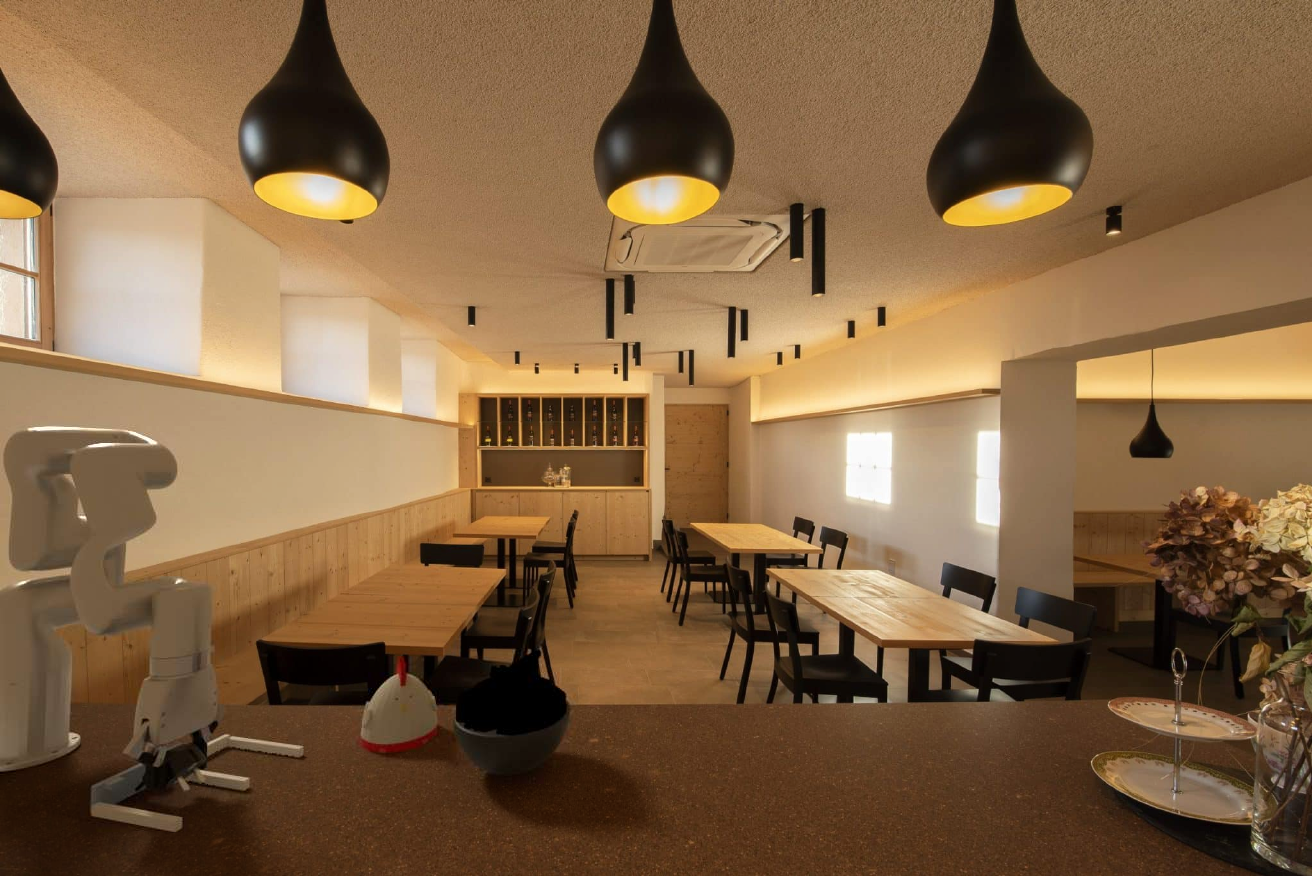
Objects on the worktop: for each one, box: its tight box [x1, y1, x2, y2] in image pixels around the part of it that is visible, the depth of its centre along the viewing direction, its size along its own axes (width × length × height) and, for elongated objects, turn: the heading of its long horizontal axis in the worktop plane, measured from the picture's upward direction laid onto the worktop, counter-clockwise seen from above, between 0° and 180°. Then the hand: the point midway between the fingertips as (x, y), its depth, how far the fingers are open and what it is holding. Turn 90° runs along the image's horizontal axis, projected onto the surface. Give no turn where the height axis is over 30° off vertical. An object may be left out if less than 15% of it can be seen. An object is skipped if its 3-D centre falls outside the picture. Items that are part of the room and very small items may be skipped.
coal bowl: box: [453, 649, 572, 777], centre depth 105 cm, size 20×20×19 cm
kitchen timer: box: [359, 656, 439, 754], centre depth 117 cm, size 14×14×15 cm
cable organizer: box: [89, 733, 304, 833], centre depth 99 cm, size 17×23×4 cm
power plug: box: [135, 742, 208, 793], centre depth 94 cm, size 6×8×12 cm
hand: (177, 777), depth 94 cm, fingers closed on power plug, 5 cm apart
